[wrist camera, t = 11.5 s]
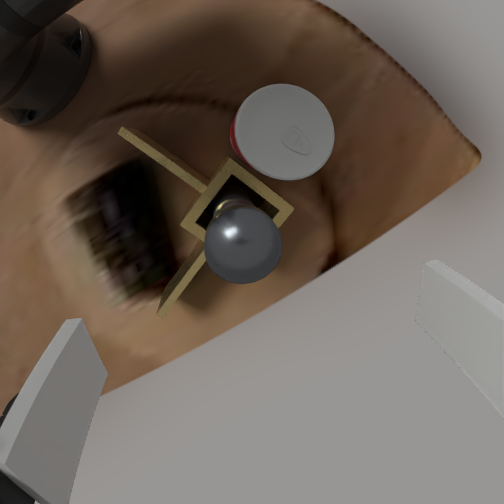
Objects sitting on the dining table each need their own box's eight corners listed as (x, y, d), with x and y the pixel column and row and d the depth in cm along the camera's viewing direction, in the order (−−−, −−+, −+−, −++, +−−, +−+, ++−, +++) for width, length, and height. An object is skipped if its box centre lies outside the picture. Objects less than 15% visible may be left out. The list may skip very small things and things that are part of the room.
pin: (200, 207, 33) (188, 255, 19) (227, 172, 32) (236, 192, 18) (235, 233, 35) (249, 296, 20) (262, 199, 34) (297, 240, 19)
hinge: (77, 229, 32) (51, 248, 26) (155, 105, 29) (140, 94, 22) (191, 307, 37) (187, 339, 31) (279, 196, 34) (294, 208, 27)
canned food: (284, 180, 33) (314, 196, 23) (217, 154, 32) (218, 157, 21) (309, 121, 31) (349, 111, 21) (244, 92, 30) (257, 67, 19)
